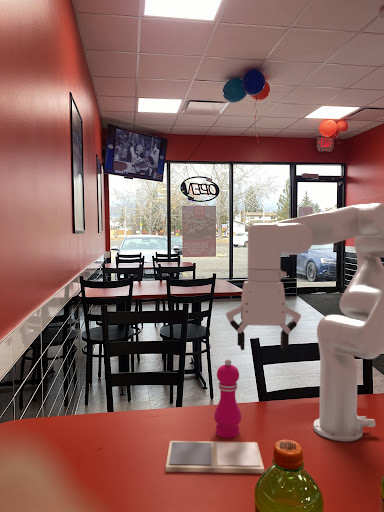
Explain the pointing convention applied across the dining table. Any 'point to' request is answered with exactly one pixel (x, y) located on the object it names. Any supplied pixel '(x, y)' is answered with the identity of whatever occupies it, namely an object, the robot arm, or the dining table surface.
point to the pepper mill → (227, 402)
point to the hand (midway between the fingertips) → (262, 349)
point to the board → (214, 457)
